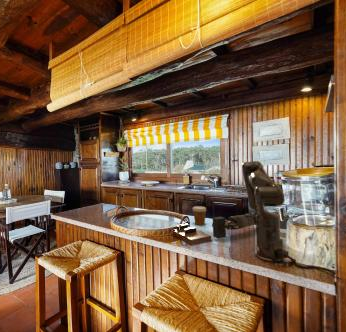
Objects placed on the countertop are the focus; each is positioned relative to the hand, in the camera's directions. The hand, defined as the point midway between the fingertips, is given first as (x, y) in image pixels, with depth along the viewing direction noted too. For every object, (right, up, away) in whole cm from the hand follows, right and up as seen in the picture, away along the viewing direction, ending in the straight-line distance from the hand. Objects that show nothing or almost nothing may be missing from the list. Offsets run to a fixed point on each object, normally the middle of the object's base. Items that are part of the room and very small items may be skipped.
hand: (215, 226), depth 120 cm
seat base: (-12, -9, +6) cm, 16 cm away
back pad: (+3, -6, +1) cm, 7 cm away
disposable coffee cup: (+3, -8, +32) cm, 33 cm away
